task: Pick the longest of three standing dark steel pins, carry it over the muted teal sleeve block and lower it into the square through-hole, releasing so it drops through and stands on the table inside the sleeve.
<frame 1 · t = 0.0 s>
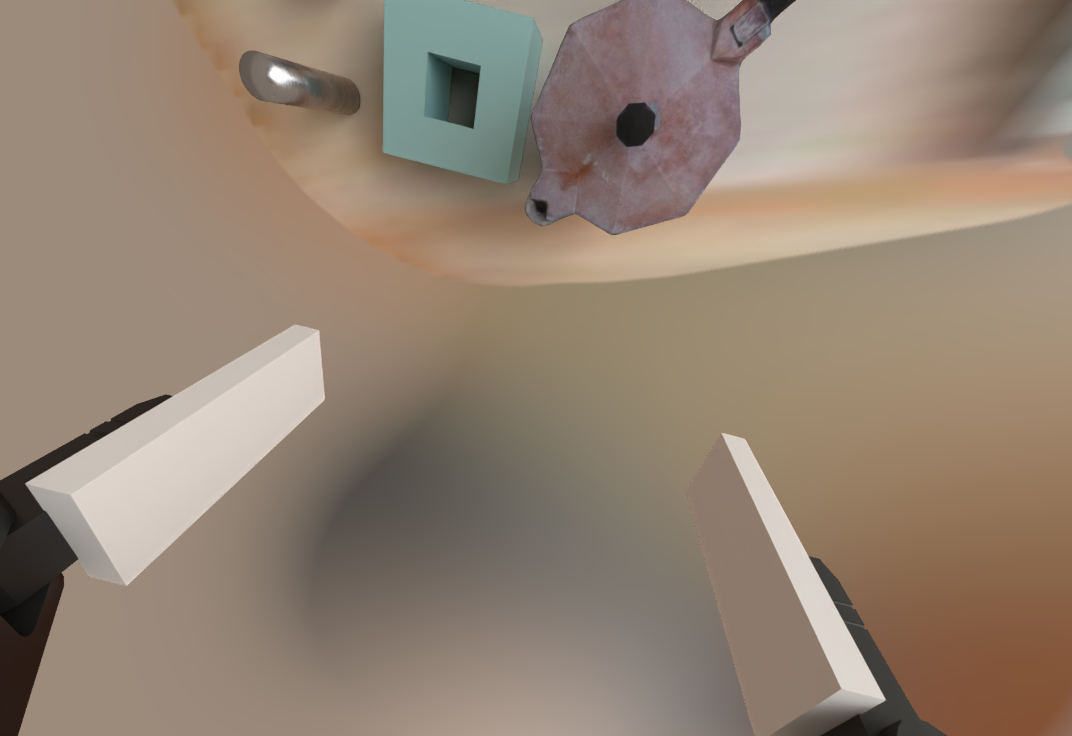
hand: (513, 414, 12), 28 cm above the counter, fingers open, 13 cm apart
pin medium: (345, 96, 33), on the counter
moka pot: (625, 125, 32), on the counter
sleeve: (471, 100, 32), on the counter
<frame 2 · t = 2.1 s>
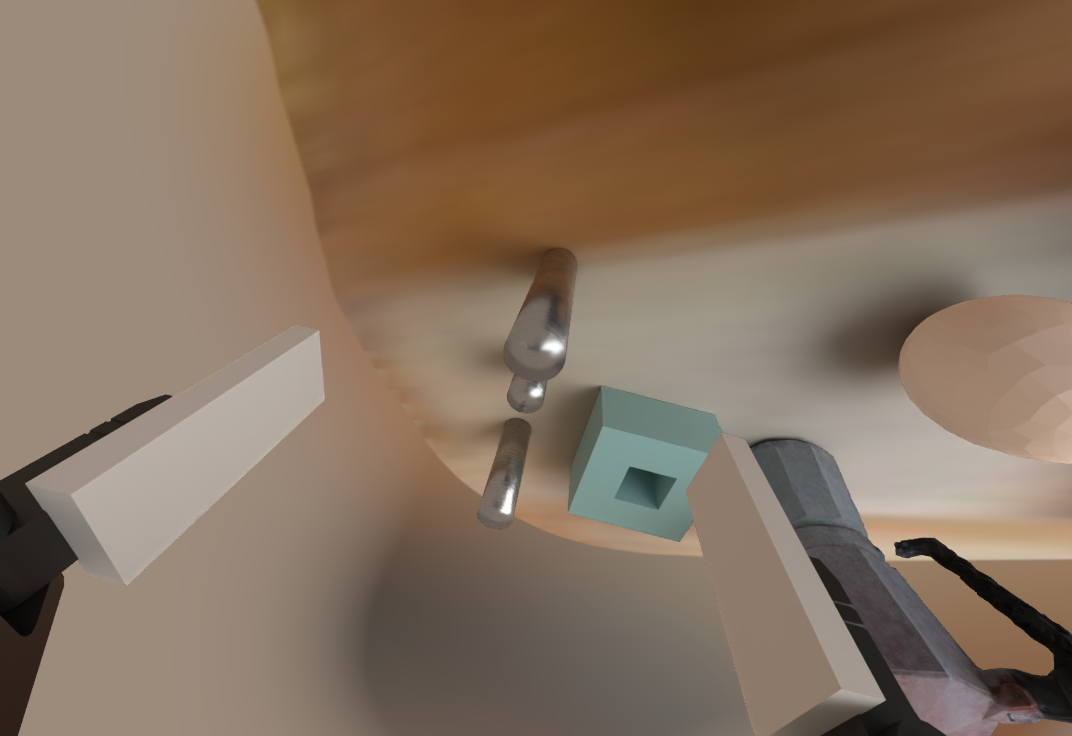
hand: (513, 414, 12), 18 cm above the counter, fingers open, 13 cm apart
pin medium: (517, 429, 36), on the counter
moka pot: (778, 468, 35), on the counter
pin long: (559, 266, 28), on the counter
sleeve: (637, 443, 35), on the counter
egg: (933, 333, 27), on the counter
pin short: (536, 358, 32), on the counter
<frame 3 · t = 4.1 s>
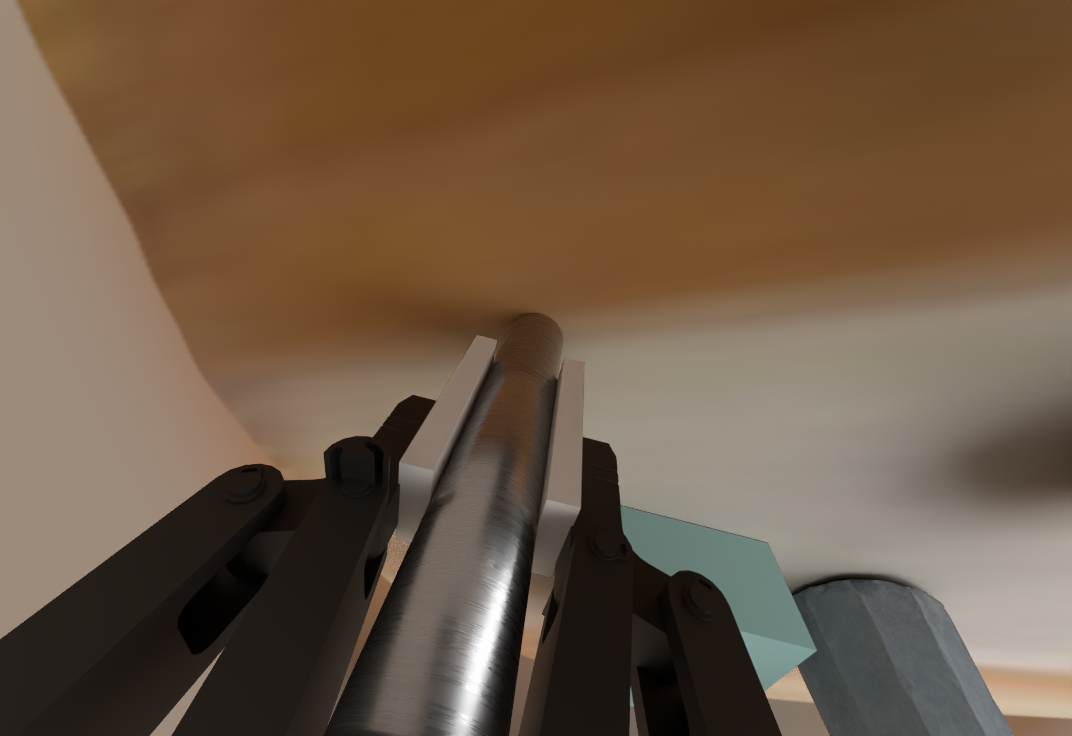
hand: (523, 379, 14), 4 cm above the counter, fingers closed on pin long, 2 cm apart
moka pot: (854, 607, 24), on the counter
pin long: (534, 339, 17), on the counter, touching gripper
sleeve: (652, 570, 25), on the counter
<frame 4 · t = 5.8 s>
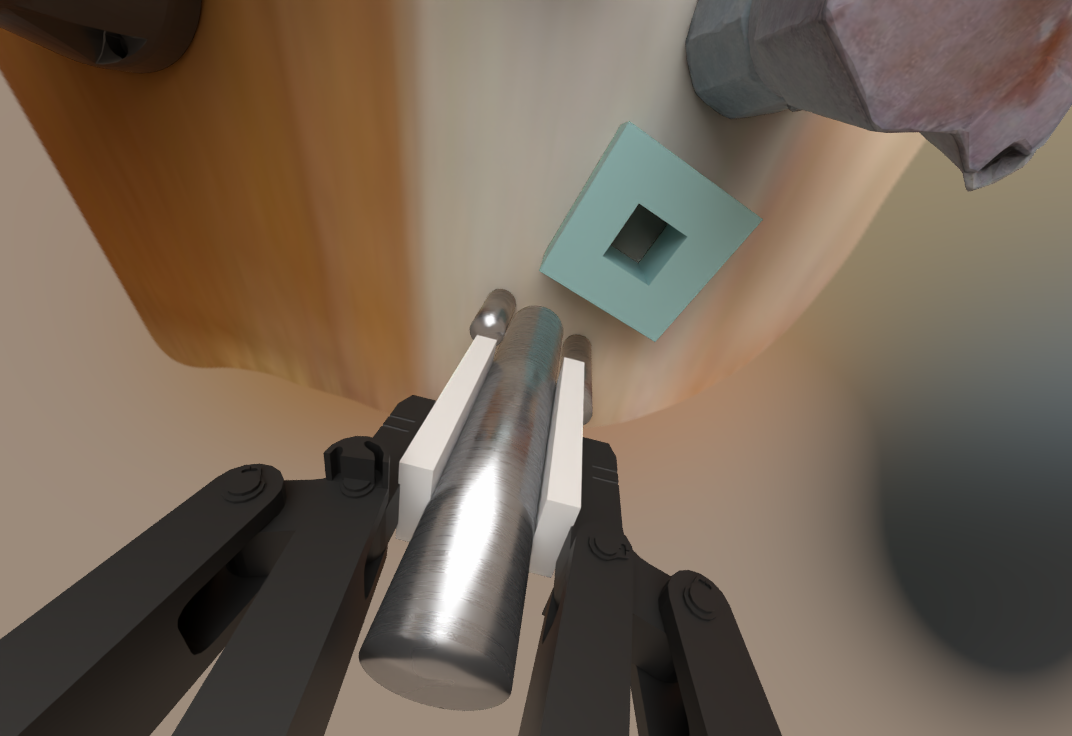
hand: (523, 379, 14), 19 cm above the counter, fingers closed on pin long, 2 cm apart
pin medium: (576, 347, 35), on the counter
moka pot: (755, 28, 23), on the counter
pin long: (536, 331, 18), point 15 cm above the counter, touching gripper
sleeve: (634, 229, 29), on the counter
pin short: (501, 303, 34), on the counter
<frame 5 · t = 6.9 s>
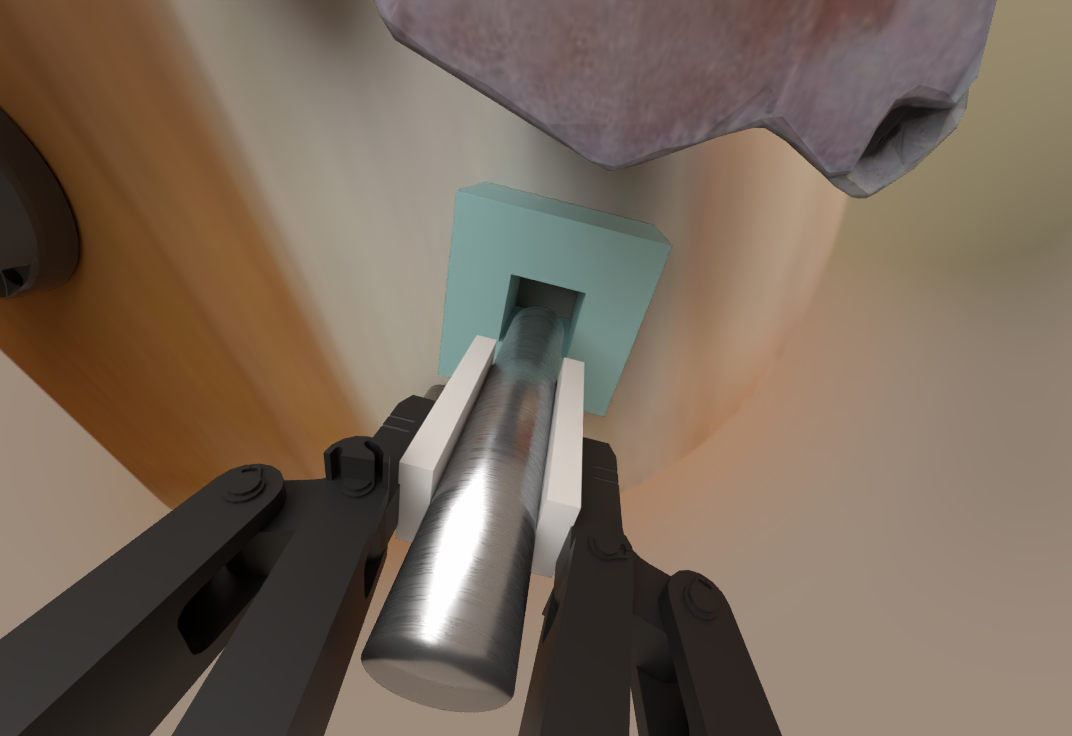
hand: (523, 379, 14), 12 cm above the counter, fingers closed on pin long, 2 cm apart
moka pot: (593, 18, 18), on the counter
pin long: (537, 331, 18), point 7 cm above the counter, touching gripper
sleeve: (549, 285, 24), on the counter
when the fingers open (7 cm above the counter, at t = 7.8 s): pin long drops 2 cm, resting in sleeve.
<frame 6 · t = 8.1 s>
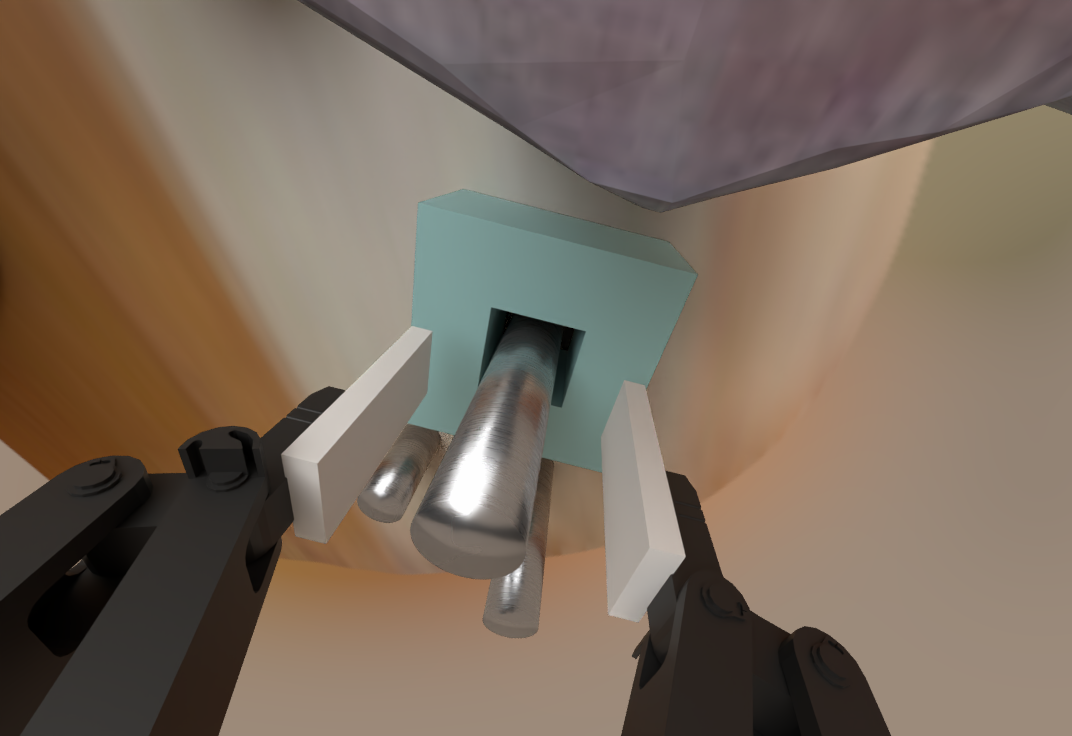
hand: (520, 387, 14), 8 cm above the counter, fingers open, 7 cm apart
pin medium: (534, 465, 26), on the counter
pin long: (541, 312, 20), resting in sleeve
sleeve: (542, 311, 20), on the counter
pin short: (421, 436, 26), on the counter
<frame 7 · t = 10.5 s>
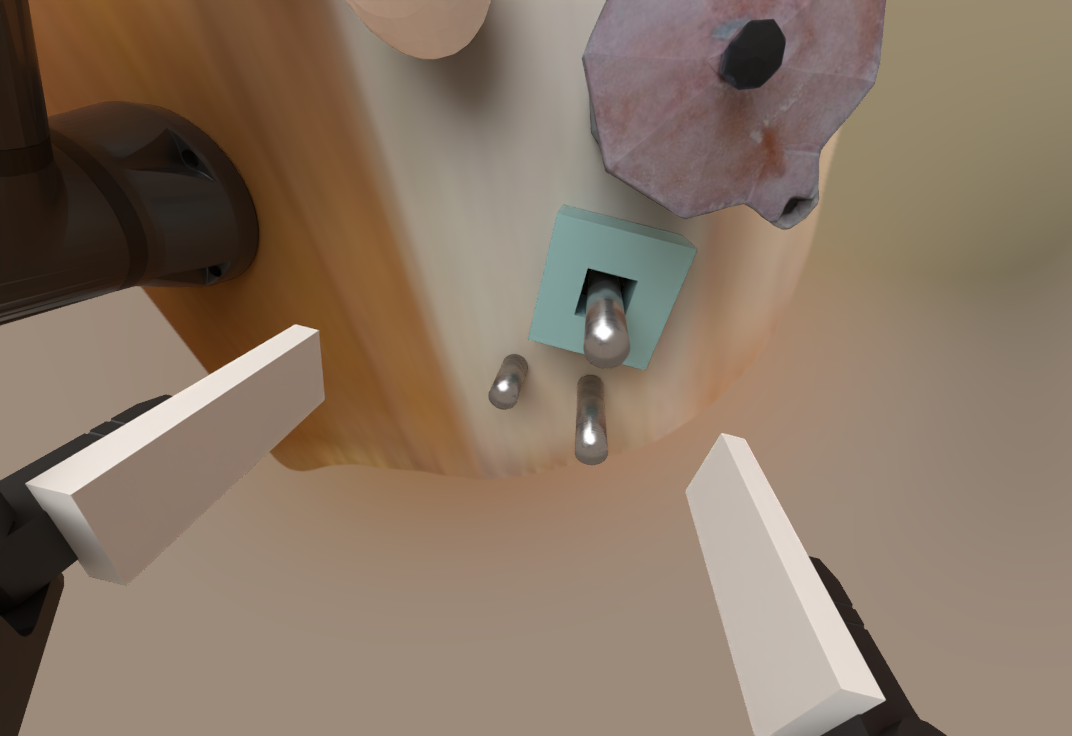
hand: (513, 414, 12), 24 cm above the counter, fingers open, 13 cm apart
pin medium: (590, 385, 39), on the counter
moka pot: (645, 100, 27), on the counter
pin long: (603, 279, 34), resting in sleeve
sleeve: (604, 278, 33), on the counter
pin short: (515, 365, 39), on the counter
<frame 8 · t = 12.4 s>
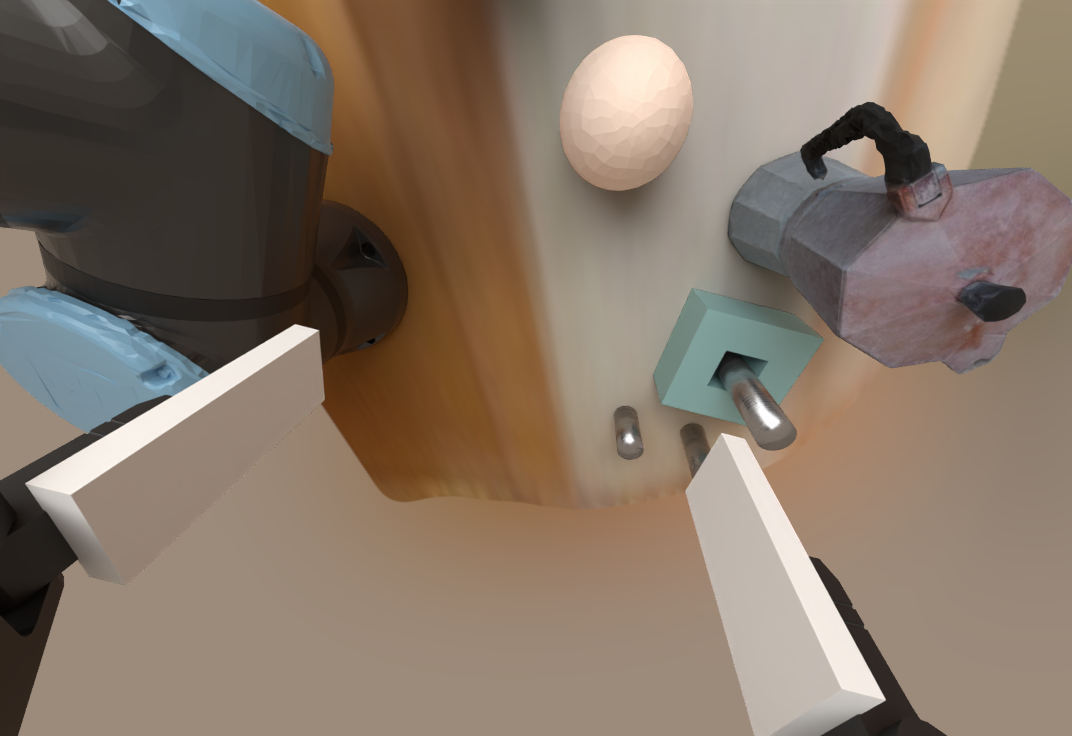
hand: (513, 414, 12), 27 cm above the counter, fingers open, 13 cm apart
pin medium: (692, 432, 44), on the counter
moka pot: (777, 210, 32), on the counter
pin long: (718, 347, 39), resting in sleeve
sleeve: (718, 346, 39), on the counter
egg: (617, 125, 31), on the counter
pin short: (625, 415, 44), on the counter
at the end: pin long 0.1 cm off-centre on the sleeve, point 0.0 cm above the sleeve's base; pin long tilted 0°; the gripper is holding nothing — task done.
